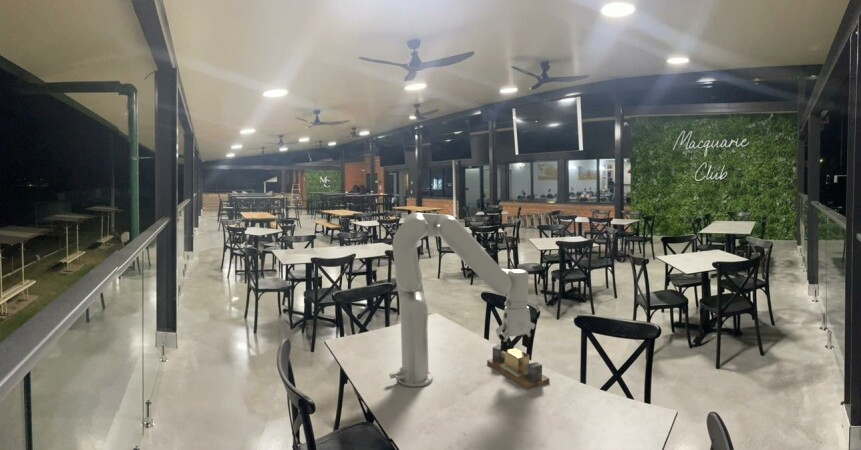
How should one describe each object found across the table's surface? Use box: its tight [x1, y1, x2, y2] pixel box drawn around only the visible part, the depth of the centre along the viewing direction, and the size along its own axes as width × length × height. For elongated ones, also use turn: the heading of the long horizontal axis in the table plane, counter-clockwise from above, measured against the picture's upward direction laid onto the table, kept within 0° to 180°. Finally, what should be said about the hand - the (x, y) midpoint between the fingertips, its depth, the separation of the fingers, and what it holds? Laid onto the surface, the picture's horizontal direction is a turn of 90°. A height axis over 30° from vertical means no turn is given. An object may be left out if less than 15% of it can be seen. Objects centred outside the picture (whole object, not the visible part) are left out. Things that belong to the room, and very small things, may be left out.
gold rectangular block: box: [505, 347, 530, 374], centre depth 174 cm, size 5×8×6 cm, turn 28°
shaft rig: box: [486, 344, 550, 390], centre depth 174 cm, size 10×24×7 cm, turn 27°
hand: (514, 348), depth 174 cm, fingers open, 9 cm apart
